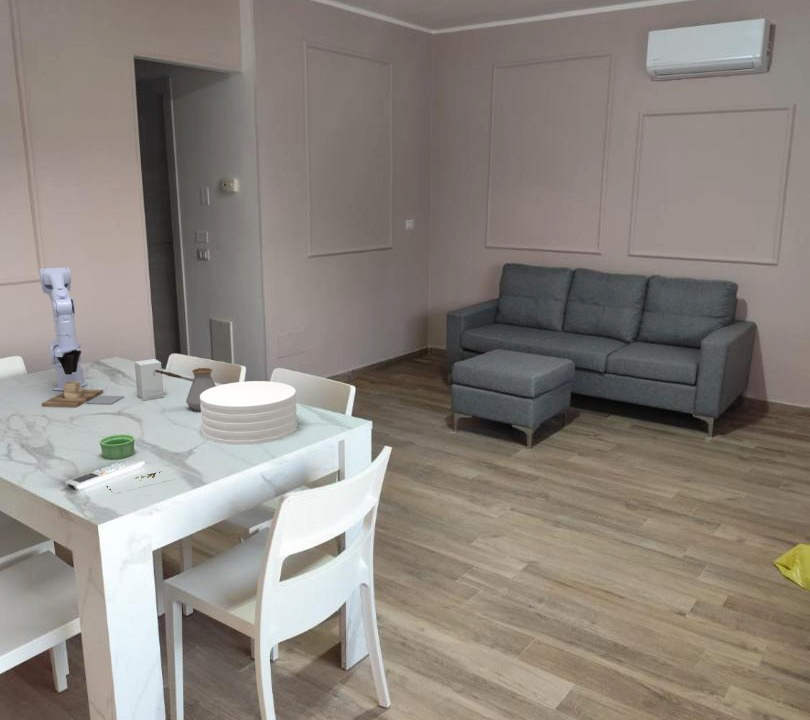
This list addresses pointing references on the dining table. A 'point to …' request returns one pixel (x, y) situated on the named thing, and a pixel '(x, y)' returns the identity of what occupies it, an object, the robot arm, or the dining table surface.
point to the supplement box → (149, 379)
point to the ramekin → (117, 446)
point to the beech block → (72, 390)
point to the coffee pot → (195, 385)
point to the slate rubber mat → (105, 400)
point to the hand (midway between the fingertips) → (70, 373)
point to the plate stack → (248, 412)
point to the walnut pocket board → (67, 402)
